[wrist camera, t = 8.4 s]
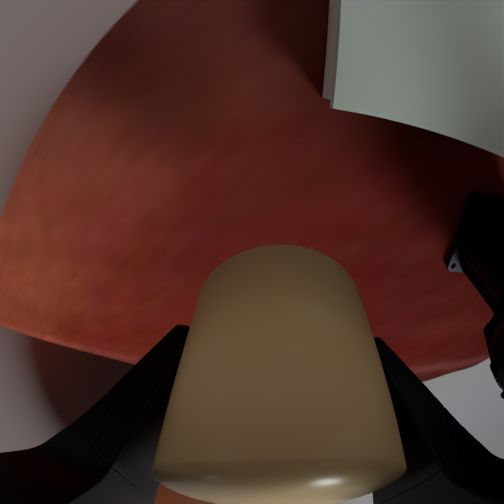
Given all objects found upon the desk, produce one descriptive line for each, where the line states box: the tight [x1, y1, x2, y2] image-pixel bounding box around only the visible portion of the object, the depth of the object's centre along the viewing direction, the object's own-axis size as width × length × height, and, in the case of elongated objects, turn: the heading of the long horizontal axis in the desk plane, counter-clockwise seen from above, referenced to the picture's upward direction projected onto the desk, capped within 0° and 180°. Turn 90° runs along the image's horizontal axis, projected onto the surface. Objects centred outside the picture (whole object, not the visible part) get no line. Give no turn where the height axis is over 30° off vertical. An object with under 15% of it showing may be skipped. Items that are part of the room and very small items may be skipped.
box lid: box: [330, 0, 504, 157], centre depth 8 cm, size 10×11×1 cm
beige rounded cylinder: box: [151, 245, 407, 504], centre depth 7 cm, size 6×6×6 cm
